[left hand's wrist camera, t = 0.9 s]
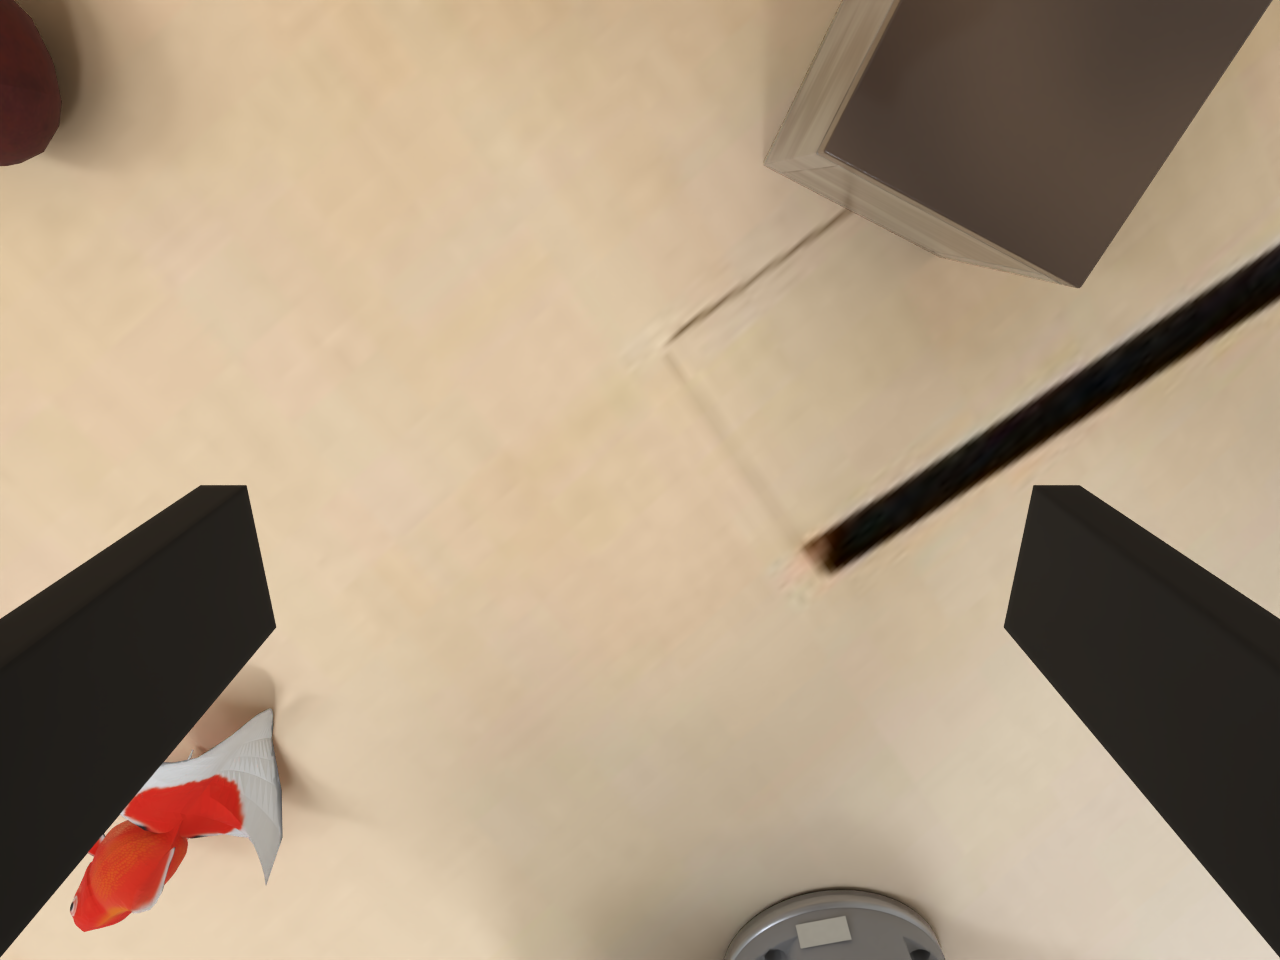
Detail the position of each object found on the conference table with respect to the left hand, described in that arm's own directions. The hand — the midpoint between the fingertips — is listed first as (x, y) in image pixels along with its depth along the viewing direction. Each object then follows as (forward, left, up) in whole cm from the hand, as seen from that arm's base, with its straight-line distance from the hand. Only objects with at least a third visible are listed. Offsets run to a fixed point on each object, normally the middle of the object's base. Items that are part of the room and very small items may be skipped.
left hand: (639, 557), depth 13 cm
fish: (-27, +27, -25) cm, 45 cm away
